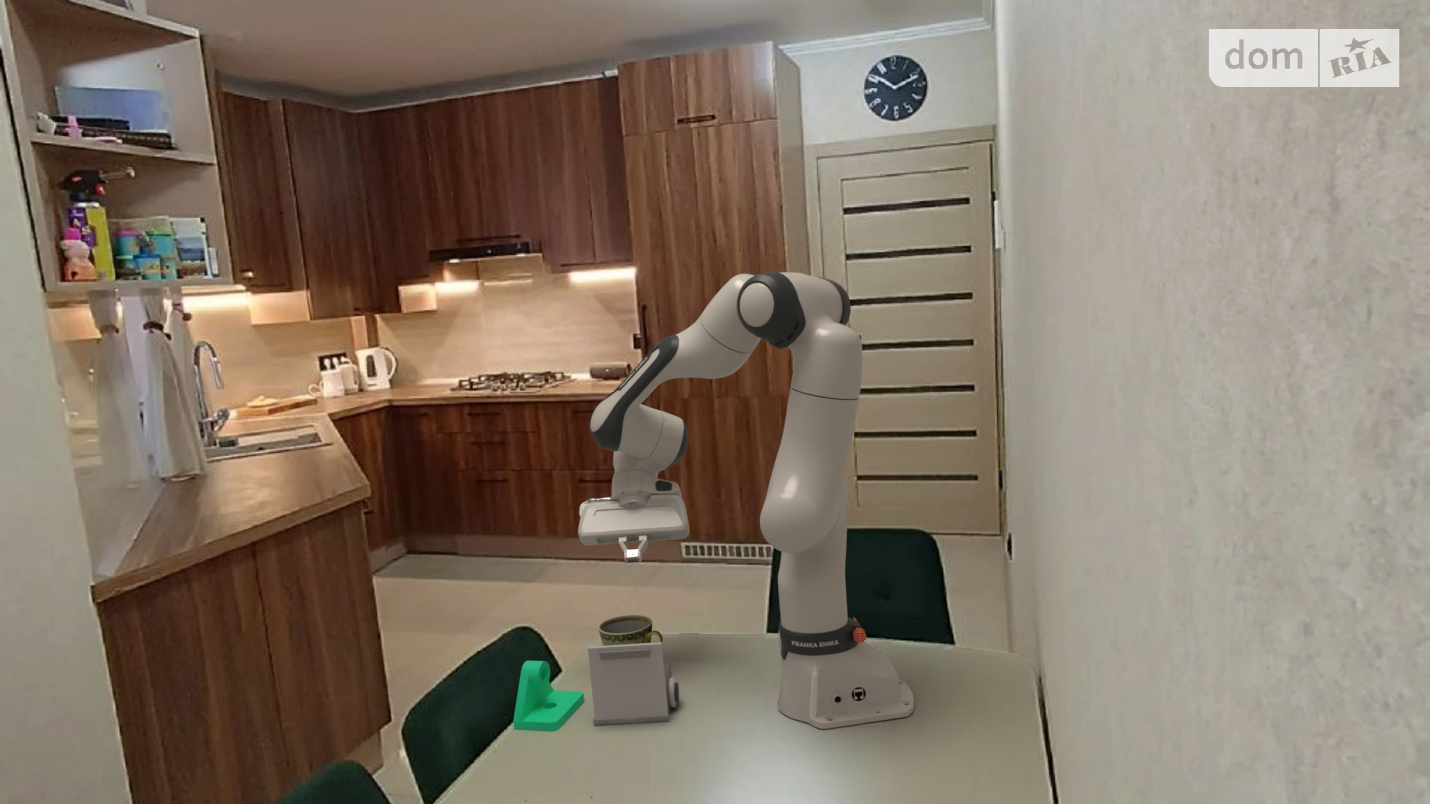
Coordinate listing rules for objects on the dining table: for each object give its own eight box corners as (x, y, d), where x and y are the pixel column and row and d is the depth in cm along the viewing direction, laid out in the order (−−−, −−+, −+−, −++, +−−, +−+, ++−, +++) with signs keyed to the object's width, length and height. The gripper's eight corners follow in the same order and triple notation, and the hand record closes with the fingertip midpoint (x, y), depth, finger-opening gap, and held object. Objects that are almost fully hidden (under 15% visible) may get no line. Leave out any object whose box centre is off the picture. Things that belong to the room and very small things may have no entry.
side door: (670, 720, 151) (663, 641, 149) (669, 724, 149) (662, 645, 148) (595, 724, 152) (587, 646, 150) (593, 728, 150) (585, 650, 148)
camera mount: (557, 738, 150) (550, 677, 148) (515, 735, 152) (508, 676, 151) (586, 705, 161) (581, 649, 160) (547, 704, 163) (541, 648, 162)
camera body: (681, 701, 159) (678, 662, 158) (677, 722, 151) (674, 682, 150) (605, 706, 160) (601, 667, 159) (597, 727, 152) (593, 687, 151)
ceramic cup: (592, 682, 170) (587, 630, 169) (623, 662, 179) (619, 612, 178) (650, 692, 164) (646, 638, 163) (680, 670, 173) (675, 619, 172)
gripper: (576, 490, 171) (571, 556, 162) (686, 482, 170) (687, 548, 161) (583, 508, 176) (578, 573, 167) (690, 500, 175) (690, 565, 166)
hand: (632, 561), depth 164 cm, fingers closed
